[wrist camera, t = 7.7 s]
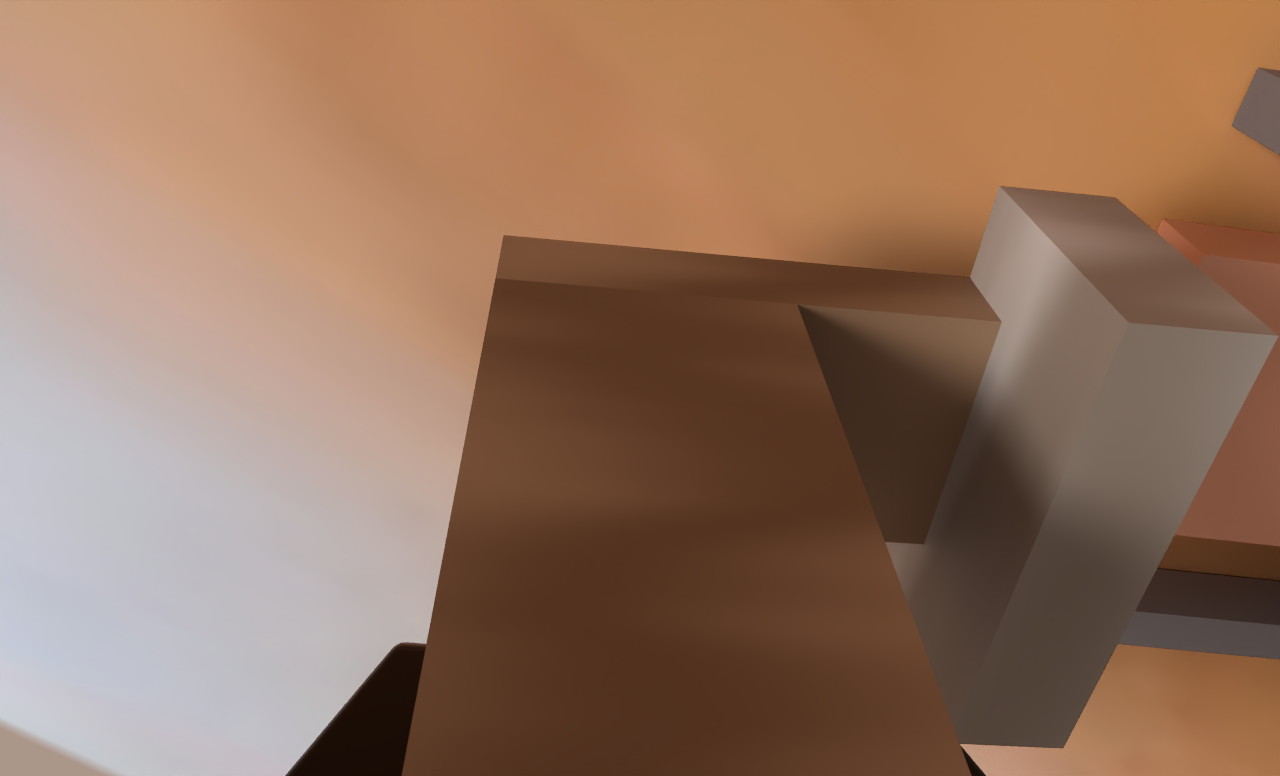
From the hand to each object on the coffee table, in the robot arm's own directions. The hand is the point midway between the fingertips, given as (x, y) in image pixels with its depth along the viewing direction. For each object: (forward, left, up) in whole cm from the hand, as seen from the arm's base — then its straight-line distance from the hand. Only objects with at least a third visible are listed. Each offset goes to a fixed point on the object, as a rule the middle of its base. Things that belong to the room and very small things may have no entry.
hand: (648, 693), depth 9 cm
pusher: (-2, 0, -6) cm, 6 cm away
